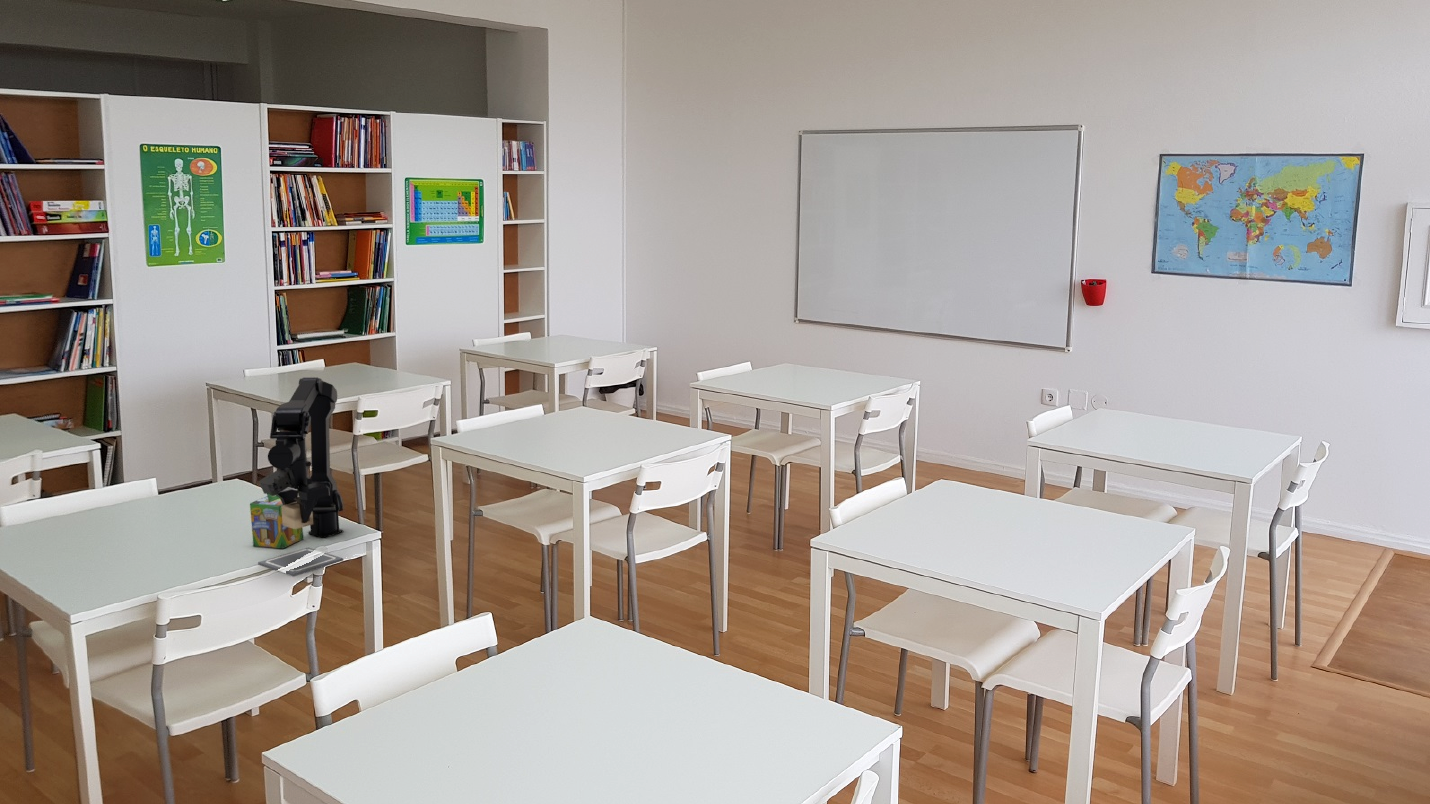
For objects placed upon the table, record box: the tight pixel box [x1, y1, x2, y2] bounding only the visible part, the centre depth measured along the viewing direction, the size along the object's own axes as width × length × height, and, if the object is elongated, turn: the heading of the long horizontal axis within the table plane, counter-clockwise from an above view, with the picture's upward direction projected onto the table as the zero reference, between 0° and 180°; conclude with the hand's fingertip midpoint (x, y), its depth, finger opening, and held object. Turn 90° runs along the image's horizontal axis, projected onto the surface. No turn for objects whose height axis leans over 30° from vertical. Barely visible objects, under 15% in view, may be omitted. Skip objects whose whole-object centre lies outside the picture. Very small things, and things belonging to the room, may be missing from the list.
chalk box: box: [249, 494, 304, 549], centre depth 284 cm, size 9×9×15 cm
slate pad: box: [257, 547, 344, 577], centre depth 271 cm, size 14×14×1 cm
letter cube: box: [281, 502, 313, 529], centre depth 268 cm, size 5×5×5 cm
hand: (298, 520), depth 269 cm, fingers closed on letter cube, 5 cm apart
